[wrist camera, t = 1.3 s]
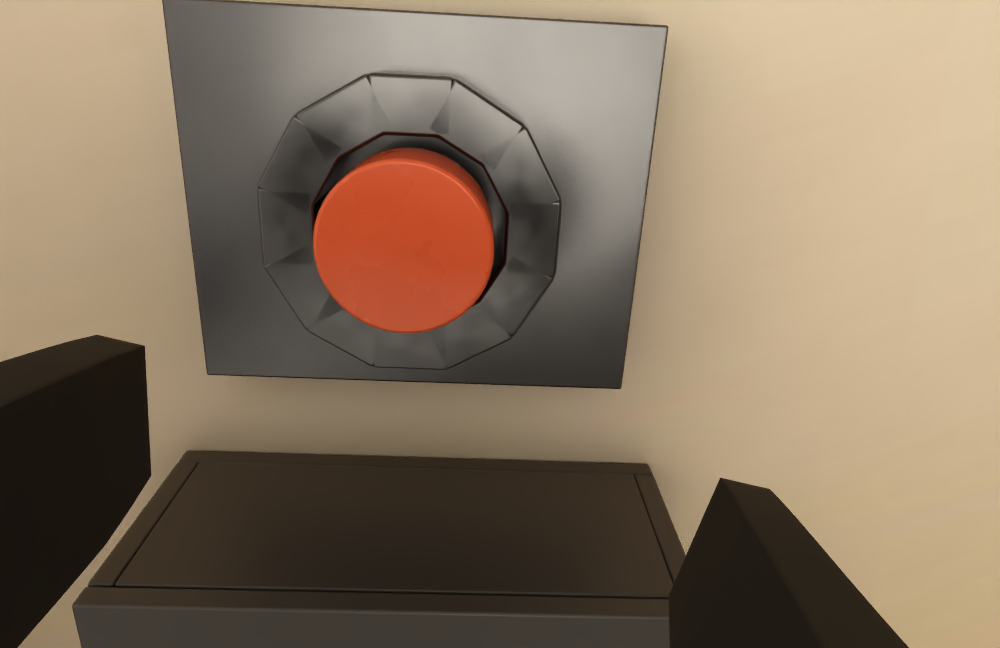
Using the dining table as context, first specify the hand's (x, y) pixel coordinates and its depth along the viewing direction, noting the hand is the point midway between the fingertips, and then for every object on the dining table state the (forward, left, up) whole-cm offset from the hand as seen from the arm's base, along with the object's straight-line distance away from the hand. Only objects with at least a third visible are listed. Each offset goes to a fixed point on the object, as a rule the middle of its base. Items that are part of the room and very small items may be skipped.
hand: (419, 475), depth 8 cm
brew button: (-1, +1, -8) cm, 8 cm away
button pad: (-1, +1, -11) cm, 11 cm away
